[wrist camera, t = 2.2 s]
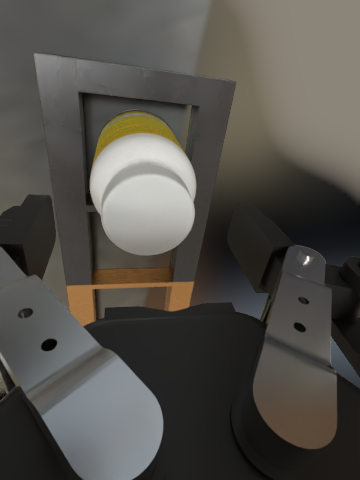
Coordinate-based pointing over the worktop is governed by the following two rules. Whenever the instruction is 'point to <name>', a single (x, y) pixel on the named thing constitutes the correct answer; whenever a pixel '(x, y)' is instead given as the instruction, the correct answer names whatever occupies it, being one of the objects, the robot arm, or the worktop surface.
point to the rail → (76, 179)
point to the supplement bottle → (142, 184)
